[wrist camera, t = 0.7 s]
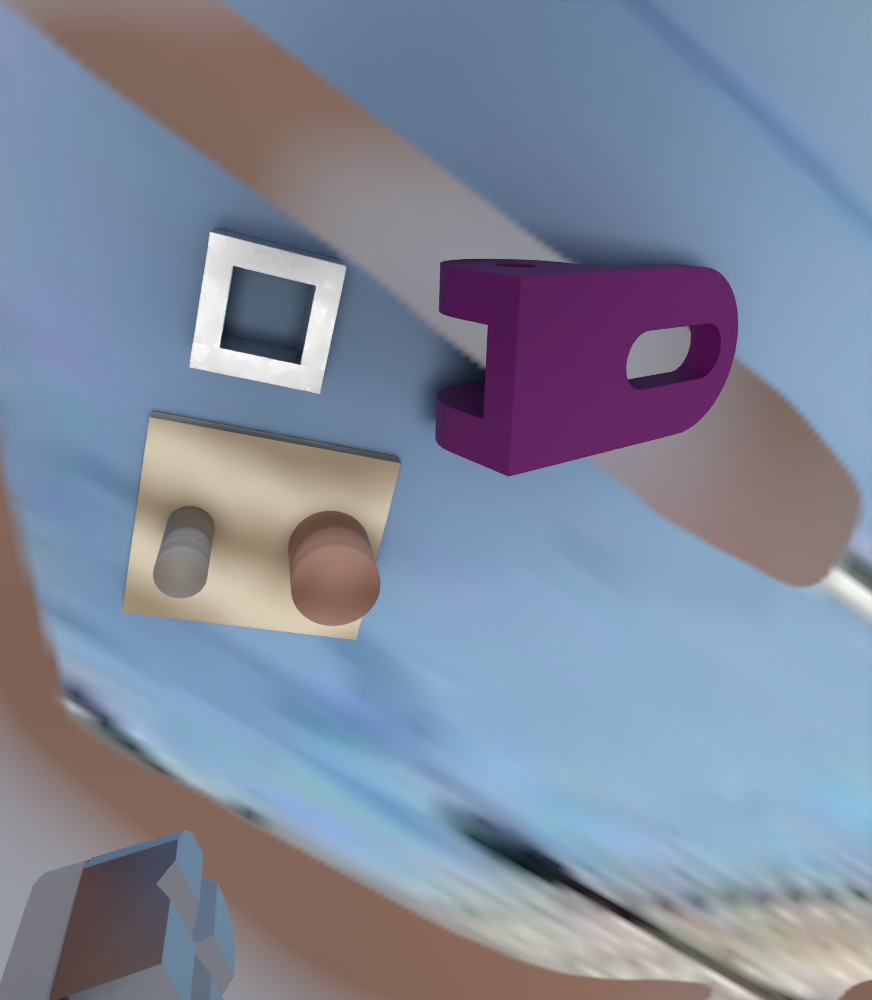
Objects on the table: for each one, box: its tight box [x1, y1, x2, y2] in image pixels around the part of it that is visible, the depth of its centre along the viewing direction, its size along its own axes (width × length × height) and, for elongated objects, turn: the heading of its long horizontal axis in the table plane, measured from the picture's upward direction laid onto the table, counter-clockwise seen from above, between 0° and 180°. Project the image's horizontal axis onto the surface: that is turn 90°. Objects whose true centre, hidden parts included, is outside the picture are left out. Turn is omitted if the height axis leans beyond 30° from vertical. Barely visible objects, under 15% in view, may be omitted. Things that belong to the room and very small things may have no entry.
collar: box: [189, 228, 347, 394], centre depth 40 cm, size 6×6×4 cm
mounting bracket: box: [436, 259, 738, 476], centre depth 44 cm, size 10×8×18 cm
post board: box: [122, 411, 401, 640], centre depth 43 cm, size 12×14×7 cm
